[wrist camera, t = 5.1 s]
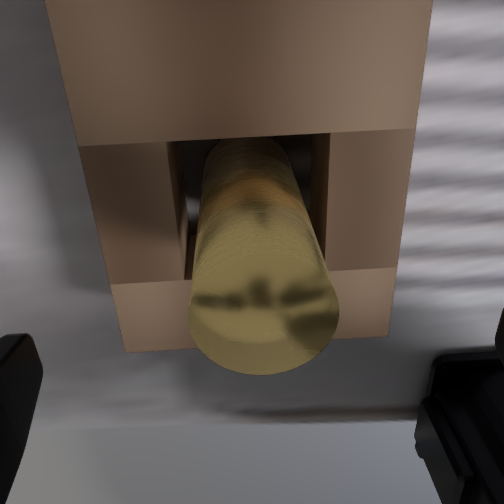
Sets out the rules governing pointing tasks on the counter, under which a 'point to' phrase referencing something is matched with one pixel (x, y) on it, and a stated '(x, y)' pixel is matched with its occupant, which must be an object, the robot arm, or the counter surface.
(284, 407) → the counter surface
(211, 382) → the counter surface
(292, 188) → the brass rod
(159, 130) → the socket block
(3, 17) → the counter surface
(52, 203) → the counter surface
